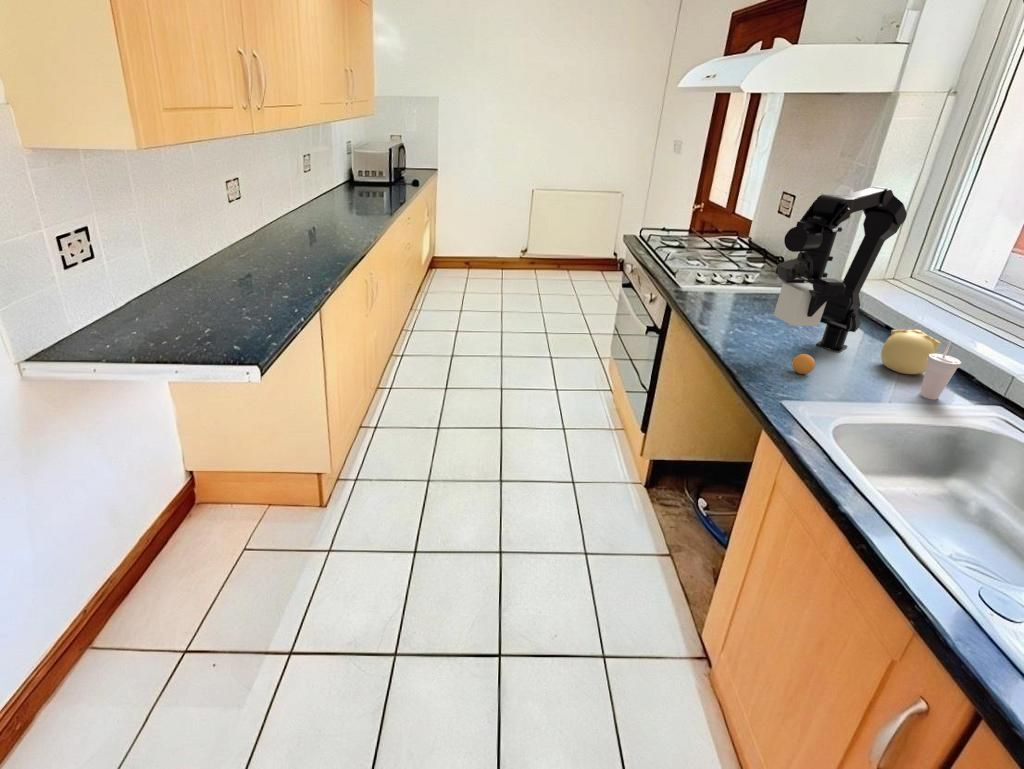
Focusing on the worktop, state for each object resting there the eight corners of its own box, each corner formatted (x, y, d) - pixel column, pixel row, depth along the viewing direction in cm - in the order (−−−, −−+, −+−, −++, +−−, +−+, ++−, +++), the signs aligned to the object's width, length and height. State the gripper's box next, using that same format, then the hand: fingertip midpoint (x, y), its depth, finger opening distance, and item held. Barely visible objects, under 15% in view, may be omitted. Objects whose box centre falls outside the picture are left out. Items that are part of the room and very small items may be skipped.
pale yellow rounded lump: (931, 371, 150) (948, 332, 145) (921, 383, 142) (938, 343, 137) (883, 357, 157) (897, 319, 152) (870, 368, 149) (885, 329, 144)
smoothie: (932, 390, 138) (955, 336, 132) (951, 402, 133) (976, 347, 126) (906, 389, 138) (929, 335, 132) (925, 401, 132) (949, 345, 126)
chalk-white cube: (798, 315, 151) (808, 283, 147) (818, 325, 144) (829, 292, 140) (773, 315, 149) (783, 282, 145) (792, 325, 142) (802, 291, 139)
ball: (794, 367, 146) (800, 349, 144) (814, 374, 143) (820, 355, 140) (786, 372, 143) (792, 353, 140) (806, 379, 139) (813, 360, 137)
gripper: (765, 240, 145) (749, 299, 152) (815, 258, 129) (794, 323, 136) (803, 242, 148) (786, 300, 154) (856, 259, 131) (834, 323, 138)
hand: (798, 311), depth 146 cm, fingers closed on chalk-white cube, 8 cm apart
